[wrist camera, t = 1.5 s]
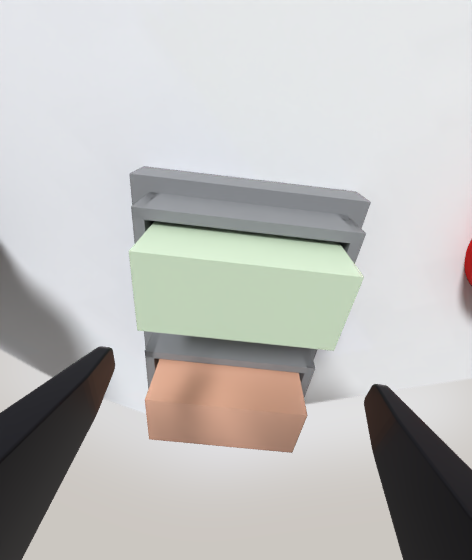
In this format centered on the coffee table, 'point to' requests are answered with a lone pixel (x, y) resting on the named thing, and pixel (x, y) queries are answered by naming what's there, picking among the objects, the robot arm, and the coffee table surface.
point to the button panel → (252, 218)
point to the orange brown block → (225, 406)
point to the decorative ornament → (468, 263)
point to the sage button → (242, 285)
